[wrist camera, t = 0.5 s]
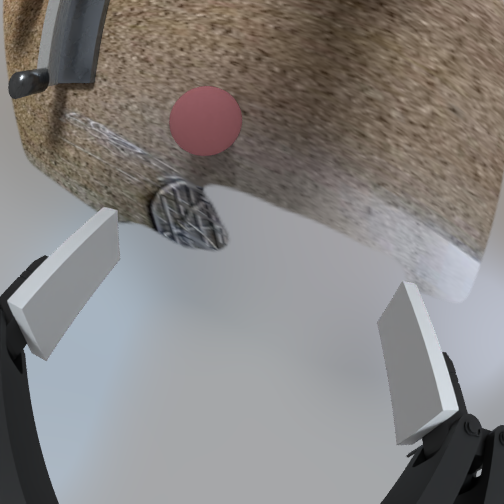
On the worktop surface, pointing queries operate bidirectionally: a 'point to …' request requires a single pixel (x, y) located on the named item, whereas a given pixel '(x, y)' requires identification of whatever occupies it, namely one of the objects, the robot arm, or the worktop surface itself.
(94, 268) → the robot arm
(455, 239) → the worktop surface
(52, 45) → the lever
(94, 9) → the base
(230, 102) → the light bulb
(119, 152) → the worktop surface
